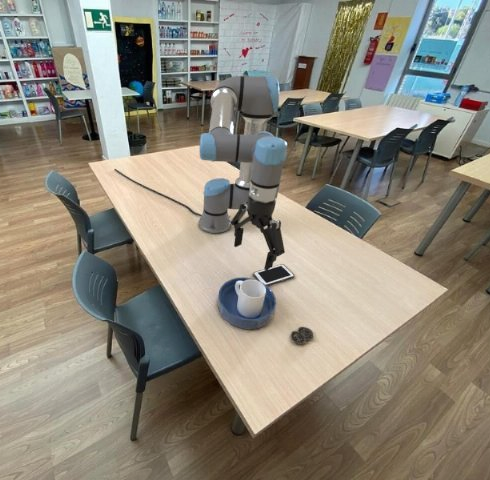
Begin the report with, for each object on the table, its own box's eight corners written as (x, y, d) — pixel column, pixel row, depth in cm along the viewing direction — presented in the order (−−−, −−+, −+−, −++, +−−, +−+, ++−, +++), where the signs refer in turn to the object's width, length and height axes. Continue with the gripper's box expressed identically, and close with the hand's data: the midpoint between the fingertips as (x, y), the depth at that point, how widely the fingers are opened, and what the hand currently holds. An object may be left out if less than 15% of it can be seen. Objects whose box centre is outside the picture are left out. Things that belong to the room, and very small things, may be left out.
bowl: (206, 301, 100) (207, 291, 97) (245, 280, 109) (247, 270, 106) (244, 340, 87) (246, 330, 84) (285, 312, 96) (288, 302, 93)
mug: (225, 299, 100) (227, 278, 94) (243, 290, 104) (246, 269, 98) (247, 323, 92) (251, 301, 86) (266, 312, 95) (271, 291, 89)
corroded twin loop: (286, 336, 89) (286, 333, 88) (304, 326, 92) (305, 323, 91) (297, 348, 85) (298, 346, 84) (316, 337, 88) (317, 335, 88)
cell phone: (252, 274, 111) (252, 272, 111) (282, 265, 116) (283, 263, 115) (263, 287, 106) (263, 285, 105) (294, 277, 110) (295, 275, 109)
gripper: (222, 183, 83) (218, 240, 96) (289, 221, 67) (274, 284, 80) (241, 177, 87) (234, 233, 100) (309, 212, 71) (291, 273, 83)
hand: (252, 256), depth 90 cm, fingers open, 13 cm apart
